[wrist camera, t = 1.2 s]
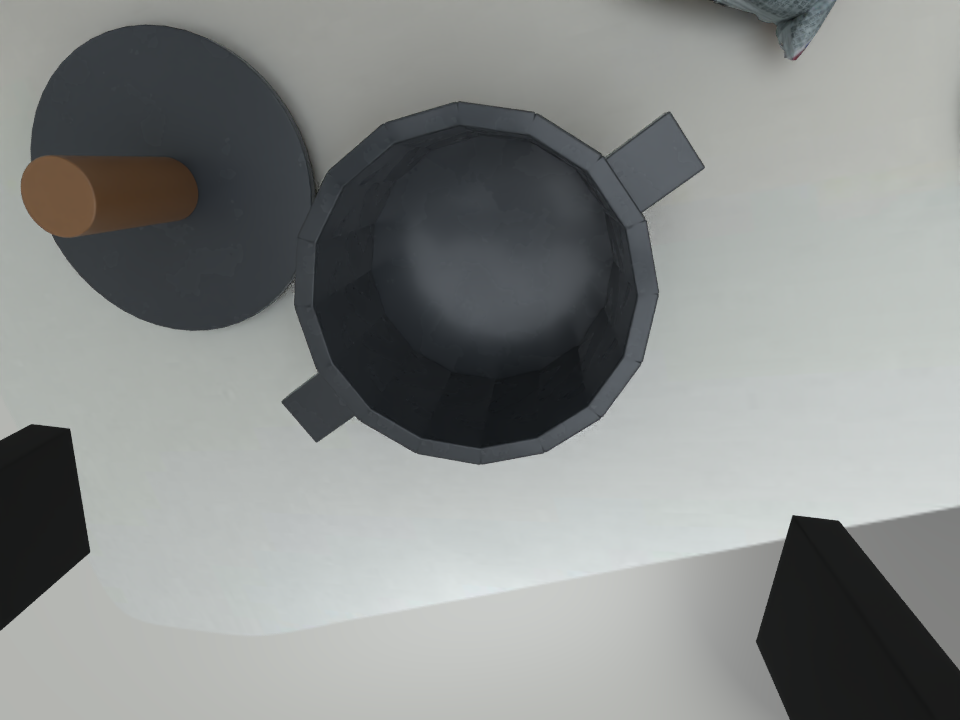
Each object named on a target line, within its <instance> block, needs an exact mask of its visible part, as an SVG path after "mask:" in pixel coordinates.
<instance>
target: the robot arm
mask: <svg viewBox="0 0 960 720" xmlns="http://www.w3.org/2000/svg"><path fill="white" fill-rule="evenodd" d="M89 553H90V547H89V541H88V535H87V529H86V523H85V517H84V511H83V505H82V499H81V492H80V486H79V480H78V474H77V468H76V462H75V456H74V450H73V444H72V438H71V431H70V429H68V428H59V427H51V426H43V425H34V424H31V425H29V426H27V427H25V428H23V429H21V430H19V431H18V432H16V433H14V434H12V435H10V436H8V437H6V438H4V439H2V440H0V630H2V629H3V628H4V627H5V626H6V625H8V624H9V623H10V622H11V621H12V620H13V619H14V618H16V617H17V616H18V615H19V614H20V613H21V612H22V611H23V610H25V609H26V608H27V607H28V606H29V605H30V604H32V603H33V602H34V601H35V600H36V599H37V598H38V597H39V596H41V594H43V593H44V592H45V591H46V590H48V589H49V588H50V587H51V586H52V585H53V584H54V583H56V582H57V581H58V580H59V579H60V578H61V577H62V576H64V575H65V574H66V573H67V572H68V571H69V570H70V569H72V568H73V567H74V566H75V565H76V564H77V563H78V562H79V561H81V560H82V559H83V558H84V557H85V556H86V555H88V554H89ZM756 643H757V645H758V647H759V650H760V652H761V654H762V656H763V659H764V661H765V663H766V666H767V668H768V670H769V673H770V674H771V677H772V680H773V682H774V684H775V686H776V689H777V691H778V693H779V696H780V698H781V700H782V702H783V705H784V707H785V709H786V712H787V714H788V716H789V719H790V720H960V671H959V669H958V668H957V667H956V665H955V664H954V663H953V662H952V660H951V659H950V658H949V657H948V656H947V655H946V653H945V652H944V651H943V649H942V648H941V647H940V646H939V644H938V643H937V642H936V641H935V639H934V638H933V637H932V636H931V635H930V633H929V632H928V631H927V630H926V628H925V627H924V626H923V625H922V623H921V622H920V621H919V620H918V618H917V617H916V616H915V615H914V613H913V612H912V611H911V610H910V609H909V607H908V606H907V605H906V603H905V602H904V601H903V600H902V599H901V597H900V596H899V595H898V594H897V593H896V591H895V590H894V589H893V587H892V586H891V585H890V584H889V582H888V581H887V580H886V579H885V577H884V576H883V575H882V574H881V573H880V571H879V570H878V569H877V568H876V566H875V565H874V564H873V563H872V561H871V560H870V559H869V558H868V556H867V555H866V554H865V553H864V551H863V550H862V549H861V548H860V546H859V545H858V544H857V543H856V542H855V540H854V539H853V538H852V537H851V535H850V534H849V533H848V532H847V530H846V529H845V528H844V527H843V525H842V524H841V523H840V522H839V521H837V520H828V519H820V518H811V517H803V516H795V515H793V516H792V519H791V523H790V526H789V529H788V533H787V536H786V540H785V543H784V547H783V550H782V554H781V557H780V561H779V564H778V568H777V571H776V574H775V578H774V581H773V585H772V588H771V592H770V595H769V599H768V602H767V606H766V609H765V613H764V616H763V619H762V623H761V626H760V630H759V633H758V637H757V640H756Z"/></svg>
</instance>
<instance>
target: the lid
mask: <svg viewBox="0 0 960 720" xmlns="http://www.w3.org/2000/svg"><path fill="white" fill-rule="evenodd" d="M21 195H22V199H23V203H24V205H25V207H26V209H27V211H28V213H29V215H30V216H31V217H32V219H33V220H34V221H35V222H36V223H37V224H38V225H39V226H40V227H41V228H43V229H44V230H45V231H47V232H49V233H51V234H52V236H53V238H54V240H55V242H56V243H57V245H58V246H59V248H60V250H61V251H62V253H63V254H64V256H65V257H66V259H67V260H68V261H69V263H70V264H71V265H72V266H73V267H74V269H75V270H76V271H77V272H78V274H79V275H80V276H81V277H82V278H83V279H84V280H85V281H86V282H87V283H88V284H89V285H90V286H91V287H92V288H93V289H94V290H96V291H97V292H98V293H99V294H101V295H102V296H103V297H104V298H106V299H107V300H108V301H110V302H111V303H113V304H114V305H116V306H117V307H119V308H120V309H122V310H123V311H125V312H127V313H129V314H131V315H133V316H135V317H137V318H139V319H142V320H145V321H147V322H150V323H153V324H156V325H159V326H164V327H168V328H172V329H180V330H190V331H196V330H212V329H218V328H223V327H227V326H230V325H233V324H236V323H239V322H241V321H243V320H245V319H247V318H249V317H251V316H253V315H255V314H257V313H259V312H260V311H262V310H263V309H265V308H266V307H268V306H269V305H270V304H272V303H273V302H274V301H275V300H276V299H277V298H278V297H279V296H280V295H281V294H282V293H283V292H284V291H285V290H286V288H287V287H288V286H289V285H290V283H291V282H292V281H293V279H294V278H295V273H296V247H297V237H298V234H299V231H300V229H301V227H302V225H303V223H304V221H305V219H306V216H307V214H308V212H309V210H310V208H311V206H312V204H313V201H314V199H315V187H314V180H313V173H312V168H311V164H310V160H309V156H308V152H307V149H306V147H305V144H304V141H303V139H302V136H301V134H300V131H299V129H298V127H297V125H296V123H295V121H294V119H293V118H292V116H291V114H290V112H289V110H288V109H287V107H286V106H285V104H284V103H283V101H282V100H281V98H280V97H279V96H278V94H277V93H276V91H275V90H274V89H273V88H272V87H271V86H270V85H269V83H268V82H267V81H266V80H265V79H264V78H263V76H261V75H260V74H259V73H258V72H257V71H256V70H255V69H254V68H253V67H252V66H250V65H249V64H248V63H247V62H246V61H245V60H243V59H242V58H240V57H239V56H238V55H236V54H235V53H233V52H232V51H231V50H229V49H227V48H226V47H224V46H222V45H220V44H218V43H216V42H214V41H212V40H210V39H208V38H205V37H203V36H200V35H197V34H194V33H192V32H189V31H186V30H182V29H178V28H173V27H168V26H159V25H136V26H126V27H122V28H119V29H115V30H111V31H108V32H105V33H103V34H101V35H99V36H97V37H94V38H92V39H90V40H89V41H87V42H86V43H84V44H83V45H81V46H80V47H78V48H77V49H76V50H74V51H73V52H72V53H71V54H70V55H69V56H68V57H67V58H66V59H65V60H64V61H63V62H62V63H61V64H60V66H59V67H58V68H57V70H56V71H55V72H54V74H53V75H52V76H51V78H50V80H49V82H48V84H47V86H46V87H45V89H44V91H43V93H42V96H41V99H40V101H39V104H38V107H37V110H36V114H35V118H34V123H33V128H32V138H31V163H30V164H29V165H28V166H27V167H26V169H25V171H24V173H23V175H22V179H21Z"/></svg>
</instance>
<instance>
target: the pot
mask: <svg viewBox="0 0 960 720" xmlns="http://www.w3.org/2000/svg"><path fill="white" fill-rule="evenodd" d="M704 168H705V167H704V165H703V163H702V161H701V160H700V158H699V157H698V155H697V153H696V152H695V150H694V149H693V147H692V146H691V144H690V142H689V141H688V139H687V138H686V136H685V134H684V133H683V131H682V130H681V128H680V127H679V125H678V123H677V122H676V120H675V119H674V117H673V115H672V114H671V112H667V113H664V114H662V115H661V116H660V117H658V118H657V119H656V120H654V121H653V122H652V123H650V124H649V125H648V126H646V127H645V128H644V129H642V130H641V131H640V132H638V133H637V134H636V135H634V136H633V137H632V138H630V139H629V140H628V141H626V142H625V143H624V144H622V145H621V146H620V147H618V148H617V149H616V150H614V151H613V152H612V153H610V154H609V155H608V156H606V157H604V156H602V154H601V153H600V152H598V151H596V150H595V149H593V148H592V147H590V146H589V145H587V144H585V143H584V142H582V141H581V140H579V139H577V138H576V137H574V136H573V135H571V134H570V133H568V132H566V131H565V130H563V129H562V128H560V127H559V126H557V125H555V124H554V123H552V122H551V121H549V120H548V119H546V118H544V117H543V116H541V115H540V114H537V113H536V114H535V112H532V111H525V110H517V109H510V108H503V107H496V106H489V105H482V104H475V103H468V102H461V101H459V102H453V103H449V104H446V105H443V106H439V107H436V108H432V109H429V110H426V111H422V112H419V113H415V114H412V115H409V116H405V117H402V118H399V119H395V120H392V121H388V122H386V123H385V124H382V125H380V126H379V127H378V128H377V129H376V130H375V131H374V132H372V133H371V134H370V135H369V136H368V137H367V138H365V139H364V140H363V141H362V142H361V143H360V144H359V145H357V146H356V147H355V148H354V149H353V150H352V151H351V152H349V153H348V154H347V155H346V156H345V157H344V158H342V159H341V160H340V161H339V162H338V163H337V164H336V165H334V166H333V167H332V168H331V169H330V170H329V171H328V173H327V174H326V176H325V178H324V180H323V182H322V184H321V186H320V189H319V191H318V193H317V195H316V197H315V199H314V201H313V204H312V206H311V208H310V210H309V212H308V214H307V216H306V219H305V221H304V223H303V225H302V227H301V229H300V231H299V234H298V237H297V247H296V273H295V299H294V306H295V310H296V313H297V315H298V318H299V321H300V324H301V327H302V330H303V332H304V335H305V338H306V341H307V344H308V347H309V349H310V352H311V355H312V358H313V361H314V364H315V366H316V369H317V371H318V373H317V374H316V375H314V376H313V377H312V378H310V379H309V380H308V381H306V382H305V383H304V384H302V385H301V386H300V387H298V388H297V389H296V390H294V391H293V392H292V393H290V394H289V395H288V396H287V397H286V398H285V399H284V400H282V404H283V405H284V406H285V407H286V408H287V409H288V411H289V412H290V413H291V414H292V415H293V416H294V417H295V419H296V420H297V421H298V422H299V423H300V424H301V426H302V427H303V428H304V429H305V430H306V431H307V432H308V434H309V435H310V436H311V437H312V438H313V439H314V441H315V442H318V441H320V440H321V439H323V438H324V437H325V436H327V435H328V434H330V433H331V432H333V431H334V430H335V429H337V428H338V427H340V426H341V425H342V424H344V423H345V422H347V421H348V420H350V419H351V418H352V417H354V416H356V417H357V419H358V420H361V422H362V423H364V424H366V425H368V426H369V427H371V428H373V429H375V430H376V431H378V432H380V433H382V434H383V435H385V436H387V437H389V438H390V439H392V440H394V441H395V442H397V443H399V444H401V445H402V446H404V447H406V448H408V449H409V450H411V451H413V452H415V453H417V454H421V455H427V456H432V457H438V458H444V459H449V460H455V461H461V462H467V463H472V464H478V465H480V464H488V463H493V462H499V461H504V460H510V459H515V458H521V457H526V456H531V455H537V454H542V453H544V452H547V451H549V450H551V449H552V448H554V447H555V446H557V445H559V444H560V443H562V442H564V441H565V440H567V439H569V438H570V437H572V436H573V435H575V434H577V433H578V432H580V431H582V430H583V429H585V428H586V427H588V426H590V425H591V424H593V423H595V422H596V421H598V420H599V419H600V418H601V417H603V416H604V414H605V413H606V412H607V410H608V409H609V408H610V406H611V405H612V404H613V402H614V401H615V399H616V398H617V397H618V395H619V394H620V393H621V391H622V390H623V389H624V387H625V386H626V385H627V383H628V382H629V380H630V379H631V378H632V376H633V375H634V374H635V372H636V371H637V370H638V368H639V367H640V366H641V362H643V359H644V355H645V350H646V346H647V342H648V338H649V334H650V330H651V325H652V321H653V317H654V313H655V309H656V305H657V301H658V296H659V295H658V293H659V289H658V283H657V277H656V272H655V266H654V260H653V255H652V249H651V243H650V237H649V232H648V226H647V221H646V220H645V217H644V215H643V214H642V212H644V211H645V210H647V209H648V208H649V207H651V206H652V205H654V204H655V203H656V202H658V201H659V200H661V199H662V198H663V197H665V196H666V195H668V194H669V193H671V192H672V191H673V190H675V189H676V188H678V187H679V186H680V185H682V184H683V183H685V182H686V181H688V180H689V179H690V178H692V177H693V176H695V175H696V174H697V173H699V172H700V171H702V170H703V169H704Z"/></svg>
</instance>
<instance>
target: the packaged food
mask: <svg viewBox="0 0 960 720" xmlns="http://www.w3.org/2000/svg"><path fill="white" fill-rule="evenodd" d="M711 1H714V3H717V4H720V5H723V6H729V7H732V8H735V9H739V10H743V11H746V12H750V13H754V14H756V15H757V17H758V19H759V20H761V21H763V22H766V23H770V22H773V23H774V24H775V25H777V29H776V36H777V37H778V41H779V45H780V47H781V49H783V50H784V51H785V53H784V58H787V59H789V60H796V59H797V58H798V57H799V56H800V55H801V53H802V52H803V51H804V50H805V48H806V47H807V46H808V44H809V43H810V41H811V40H812V39H813V37H814V36H815V34H816V33H817V31H818V30H819V28H820V27H821V25H822V23H823V22H824V20H825V18H826V17H827V15H828V14H829V12H830V10H831V9H832V7H833V5H834V4H835V2H836V0H711ZM781 42H782V44H783V45H782V46H781Z"/></svg>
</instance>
